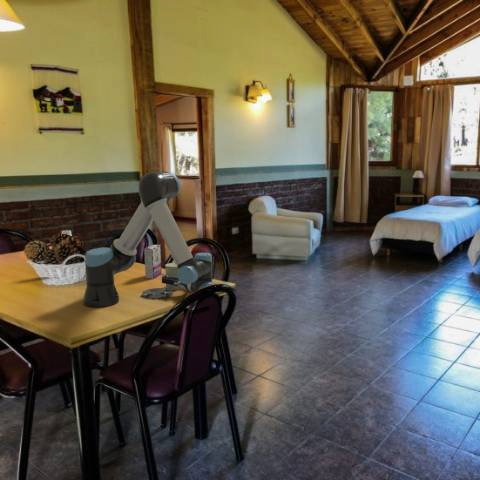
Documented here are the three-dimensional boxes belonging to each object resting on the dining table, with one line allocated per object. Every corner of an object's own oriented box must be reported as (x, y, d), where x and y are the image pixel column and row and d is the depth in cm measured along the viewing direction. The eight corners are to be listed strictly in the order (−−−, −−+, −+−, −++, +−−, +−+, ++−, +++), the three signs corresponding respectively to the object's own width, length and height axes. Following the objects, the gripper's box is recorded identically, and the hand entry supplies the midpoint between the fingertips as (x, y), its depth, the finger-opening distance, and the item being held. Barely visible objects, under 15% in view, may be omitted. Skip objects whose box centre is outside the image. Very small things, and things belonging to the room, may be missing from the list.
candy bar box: (153, 273, 258) (152, 244, 256) (161, 274, 257) (160, 244, 255) (144, 278, 248) (143, 248, 245) (153, 279, 247) (152, 248, 244)
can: (186, 285, 234) (185, 262, 232) (182, 290, 225) (181, 266, 223) (168, 284, 235) (167, 261, 233) (163, 289, 226) (162, 265, 224)
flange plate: (152, 300, 208) (152, 297, 208) (136, 294, 218) (136, 291, 218) (178, 294, 217) (178, 292, 217) (162, 288, 227) (162, 286, 227)
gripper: (168, 296, 206) (151, 285, 224) (218, 288, 218) (198, 278, 236) (168, 279, 204) (150, 270, 222) (218, 272, 217) (198, 264, 235)
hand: (175, 274), depth 229 cm, fingers open, 13 cm apart
